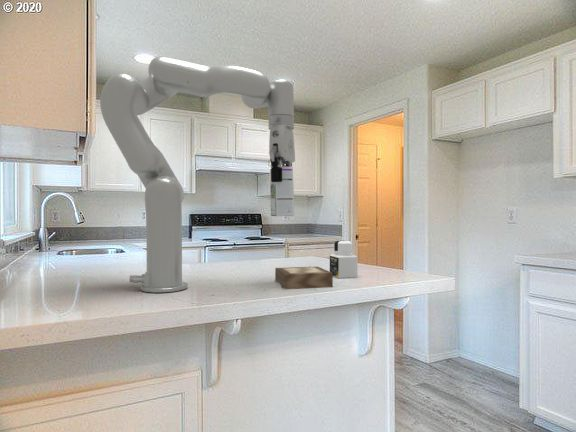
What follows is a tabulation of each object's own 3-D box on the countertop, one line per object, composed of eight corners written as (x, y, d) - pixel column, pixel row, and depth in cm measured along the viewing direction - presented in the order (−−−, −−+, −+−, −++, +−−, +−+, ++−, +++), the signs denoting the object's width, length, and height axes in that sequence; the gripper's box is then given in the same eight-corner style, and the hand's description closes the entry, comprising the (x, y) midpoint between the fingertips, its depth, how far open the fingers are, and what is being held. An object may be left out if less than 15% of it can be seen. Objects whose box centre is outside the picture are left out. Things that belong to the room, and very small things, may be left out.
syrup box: (294, 216, 114) (294, 166, 114) (275, 216, 112) (275, 165, 112) (288, 216, 119) (287, 168, 119) (269, 216, 117) (269, 168, 117)
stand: (285, 288, 109) (285, 274, 109) (275, 280, 123) (275, 267, 123) (332, 286, 113) (332, 272, 113) (317, 278, 126) (317, 266, 126)
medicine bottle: (329, 275, 134) (329, 240, 134) (348, 274, 136) (348, 239, 136) (338, 278, 127) (338, 241, 127) (357, 277, 129) (357, 241, 129)
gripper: (282, 115, 106) (283, 180, 106) (302, 128, 122) (302, 184, 123) (257, 118, 108) (258, 181, 109) (279, 130, 125) (280, 185, 125)
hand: (281, 182), depth 116 cm, fingers closed on syrup box, 8 cm apart
